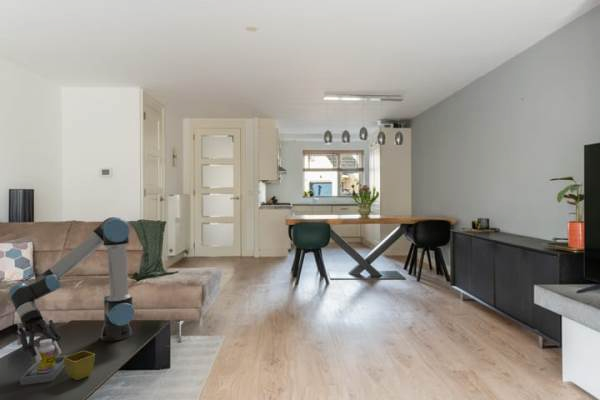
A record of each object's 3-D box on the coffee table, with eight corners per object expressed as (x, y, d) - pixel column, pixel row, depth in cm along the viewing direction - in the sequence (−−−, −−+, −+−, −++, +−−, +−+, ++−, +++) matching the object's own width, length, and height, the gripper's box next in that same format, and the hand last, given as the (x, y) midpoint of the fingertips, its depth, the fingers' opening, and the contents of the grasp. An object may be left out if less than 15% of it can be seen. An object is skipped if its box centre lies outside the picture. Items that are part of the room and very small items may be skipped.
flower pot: (74, 384, 158) (74, 361, 158) (63, 379, 162) (62, 357, 162) (96, 375, 165) (95, 354, 165) (84, 370, 170) (84, 350, 170)
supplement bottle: (46, 374, 165) (45, 344, 165) (32, 373, 166) (32, 343, 166) (59, 367, 171) (58, 338, 171) (46, 366, 173) (45, 337, 173)
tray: (68, 361, 180) (68, 355, 180) (52, 381, 160) (52, 374, 160) (39, 364, 177) (39, 358, 177) (20, 385, 157) (20, 378, 157)
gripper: (50, 313, 185) (70, 354, 177) (0, 326, 168) (20, 372, 160) (56, 304, 182) (77, 345, 174) (6, 315, 165) (27, 361, 157)
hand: (50, 357), depth 167 cm, fingers open, 7 cm apart
